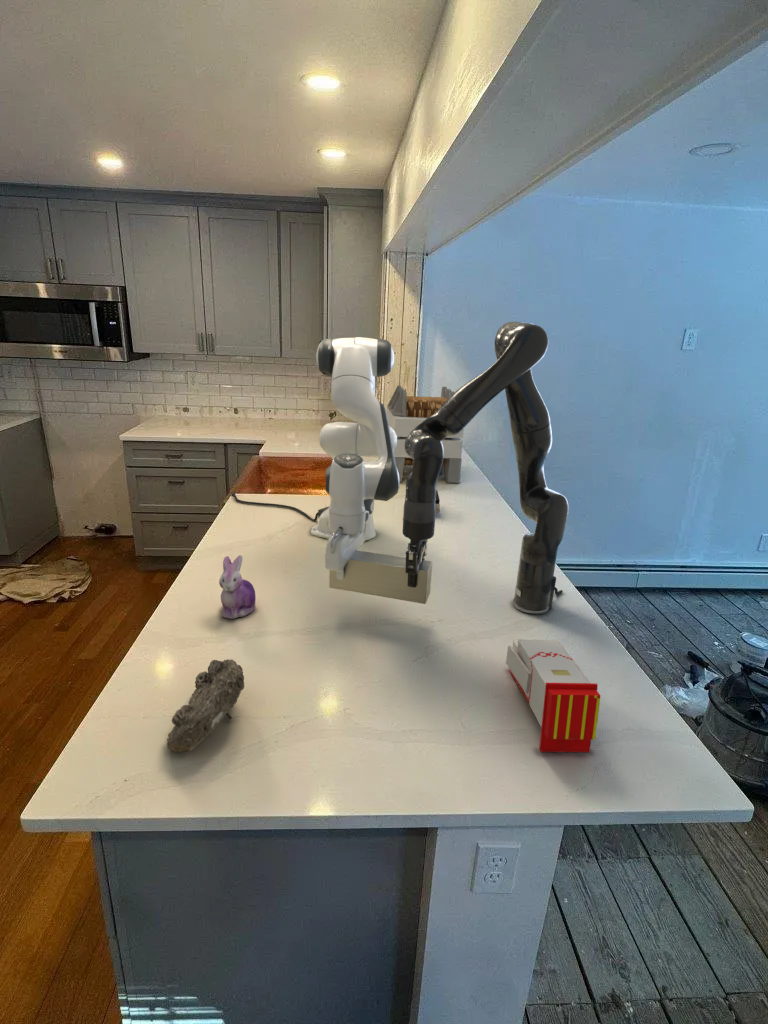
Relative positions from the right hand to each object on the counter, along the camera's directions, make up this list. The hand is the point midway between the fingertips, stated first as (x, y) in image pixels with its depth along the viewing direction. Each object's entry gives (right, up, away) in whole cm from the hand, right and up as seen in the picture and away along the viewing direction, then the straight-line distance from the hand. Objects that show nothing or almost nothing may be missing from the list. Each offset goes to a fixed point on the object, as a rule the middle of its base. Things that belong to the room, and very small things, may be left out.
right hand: (415, 580), depth 138 cm
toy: (+25, -22, -23) cm, 40 cm away
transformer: (+10, +36, +136) cm, 141 cm away
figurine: (-45, -9, +7) cm, 46 cm away
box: (-9, -3, +4) cm, 10 cm away
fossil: (-40, -22, -30) cm, 55 cm away
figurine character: (+10, +17, +84) cm, 86 cm away
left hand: (-17, +2, +5) cm, 18 cm away
